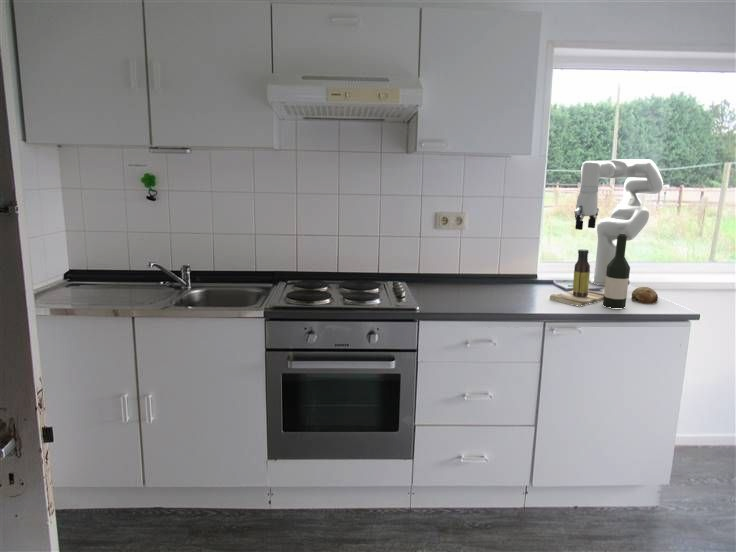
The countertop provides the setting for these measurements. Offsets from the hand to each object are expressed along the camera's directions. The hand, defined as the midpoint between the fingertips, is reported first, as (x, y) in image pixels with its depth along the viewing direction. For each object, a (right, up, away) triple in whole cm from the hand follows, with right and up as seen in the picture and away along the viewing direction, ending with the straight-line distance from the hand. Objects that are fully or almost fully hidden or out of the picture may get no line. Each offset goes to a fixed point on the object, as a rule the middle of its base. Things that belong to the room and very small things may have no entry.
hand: (585, 228), depth 228 cm
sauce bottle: (-7, -30, -10) cm, 32 cm away
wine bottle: (+3, -34, -21) cm, 40 cm away
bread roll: (+20, -32, -12) cm, 40 cm away
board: (-7, -31, -10) cm, 33 cm away
